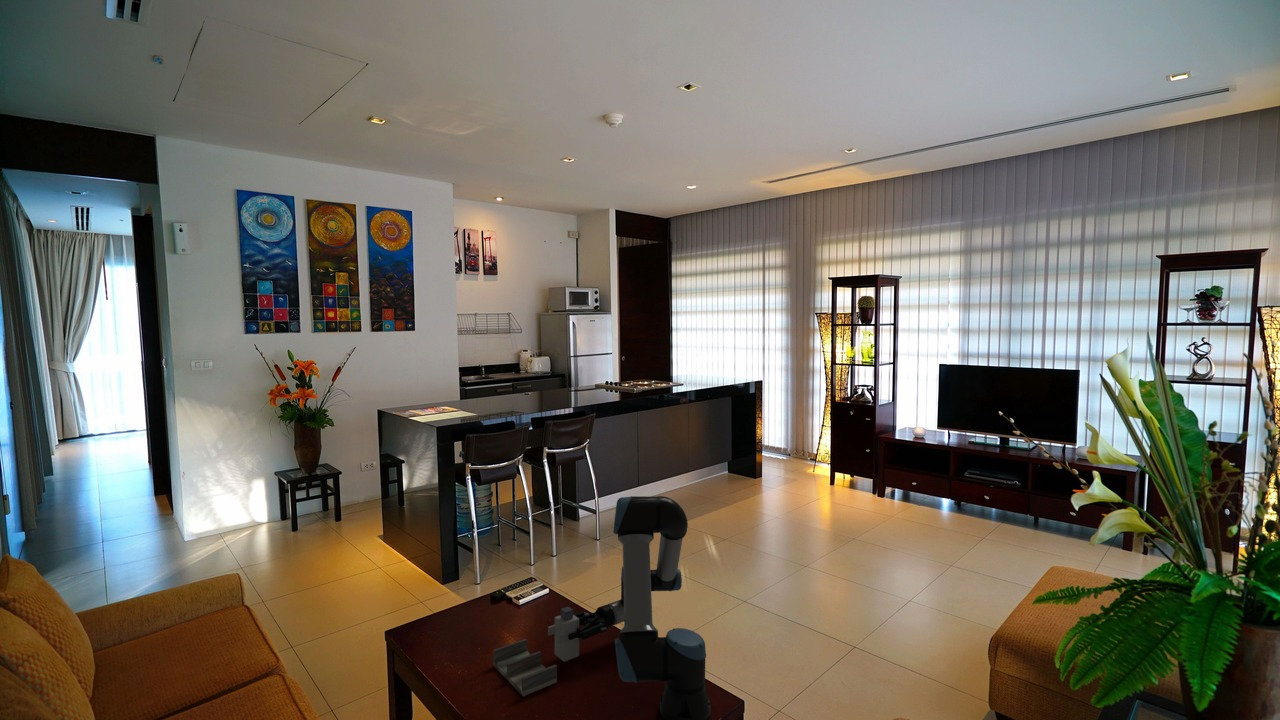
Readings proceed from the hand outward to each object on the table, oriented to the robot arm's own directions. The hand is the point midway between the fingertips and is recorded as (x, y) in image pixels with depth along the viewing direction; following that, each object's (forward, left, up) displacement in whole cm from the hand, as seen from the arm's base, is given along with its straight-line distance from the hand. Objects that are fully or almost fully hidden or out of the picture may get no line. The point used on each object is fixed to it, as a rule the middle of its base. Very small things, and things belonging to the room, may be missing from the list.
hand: (553, 635), depth 203 cm
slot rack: (+2, +10, -11) cm, 15 cm away
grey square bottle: (0, -5, -9) cm, 10 cm away
